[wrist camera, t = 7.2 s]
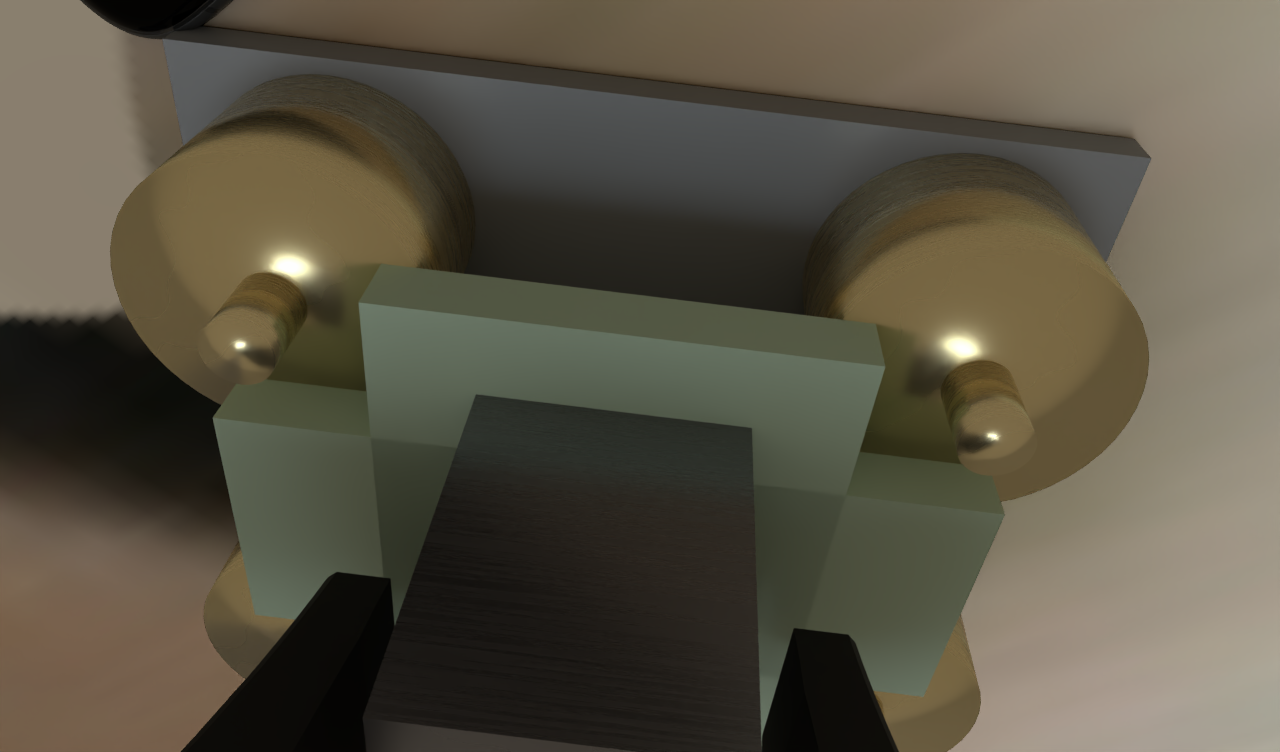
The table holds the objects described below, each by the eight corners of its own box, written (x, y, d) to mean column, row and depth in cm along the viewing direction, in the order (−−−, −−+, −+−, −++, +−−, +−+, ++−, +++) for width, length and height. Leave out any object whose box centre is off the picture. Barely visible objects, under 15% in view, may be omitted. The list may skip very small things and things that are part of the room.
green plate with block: (292, 650, 15) (135, 1002, 11) (216, 243, 10) (-83, 577, 7) (882, 723, 15) (937, 1102, 11) (1041, 344, 10) (1224, 738, 7)
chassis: (283, 567, 18) (185, 762, 15) (184, 24, 12) (-12, 151, 9) (920, 645, 18) (962, 857, 15) (1134, 138, 12) (1281, 308, 9)
